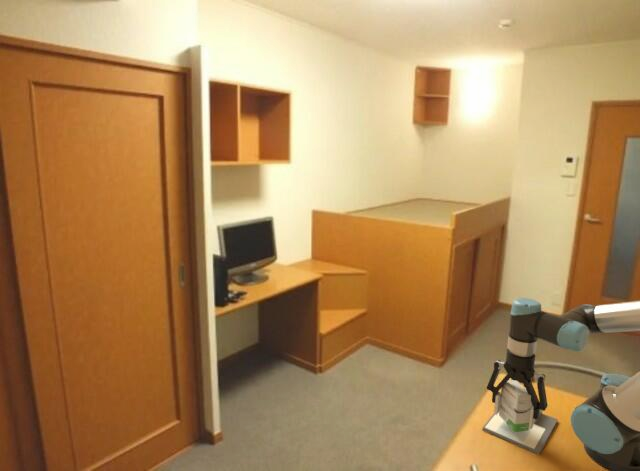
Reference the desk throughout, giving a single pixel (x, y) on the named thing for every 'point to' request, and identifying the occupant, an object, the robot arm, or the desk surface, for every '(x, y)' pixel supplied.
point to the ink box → (515, 406)
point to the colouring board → (523, 432)
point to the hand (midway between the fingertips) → (513, 419)
